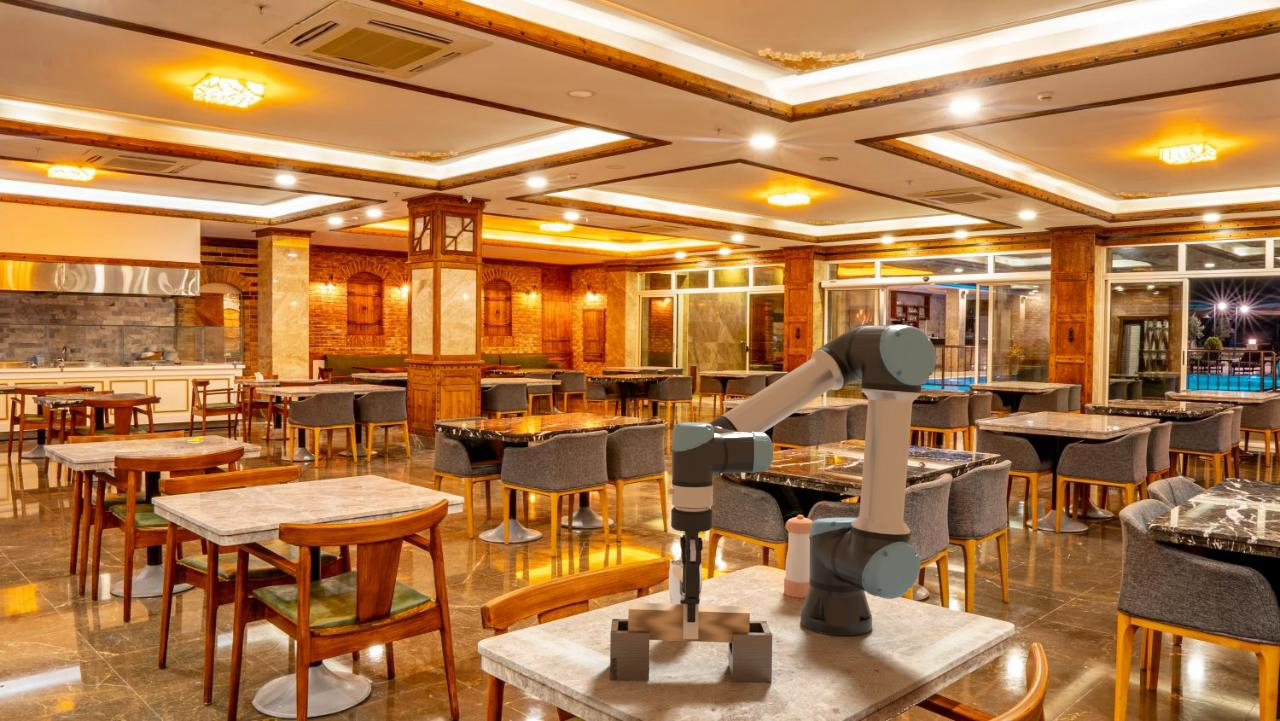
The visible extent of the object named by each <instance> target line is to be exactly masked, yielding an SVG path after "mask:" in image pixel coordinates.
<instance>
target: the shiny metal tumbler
mask: <svg viewBox="0 0 1280 721" xmlns="http://www.w3.org/2000/svg"><path fill="white" fill-rule="evenodd" d="M668 570H669V571H668V593H669V600H670V604H681V603H680V600H682V596H683V594H684V595H685V593H683V591H682V589H683V586H682V582H683V563H682V558H680V557H679V558H674V559H671V560H670V561H669V569H668ZM699 589H700V594H699V599H700V600H701V597H702V592H703V591H702V590H703V568H702V563H701V564H700V573H699ZM699 605H701V601H700V602H699Z"/></svg>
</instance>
